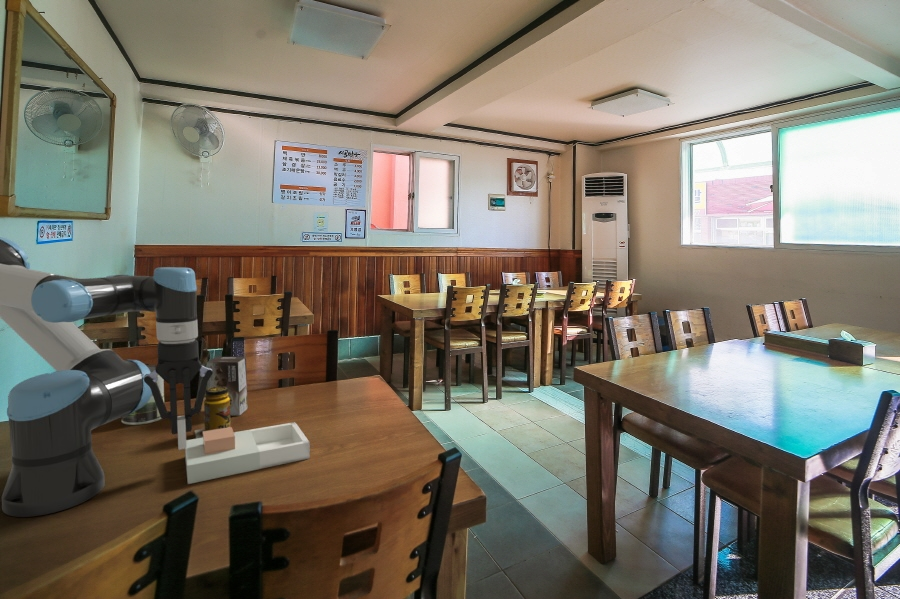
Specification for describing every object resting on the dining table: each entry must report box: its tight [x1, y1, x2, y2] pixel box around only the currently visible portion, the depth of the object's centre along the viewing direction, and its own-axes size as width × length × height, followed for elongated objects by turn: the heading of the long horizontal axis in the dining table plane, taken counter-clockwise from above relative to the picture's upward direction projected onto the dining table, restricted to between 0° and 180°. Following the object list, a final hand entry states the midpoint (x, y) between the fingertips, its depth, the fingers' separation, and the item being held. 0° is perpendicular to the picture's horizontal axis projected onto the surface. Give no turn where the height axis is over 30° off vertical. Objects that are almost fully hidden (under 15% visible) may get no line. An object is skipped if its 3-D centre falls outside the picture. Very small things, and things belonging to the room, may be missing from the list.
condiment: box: [194, 386, 231, 439], centre depth 120 cm, size 7×8×12 cm
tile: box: [203, 426, 235, 454], centre depth 104 cm, size 6×6×3 cm
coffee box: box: [206, 356, 248, 416], centre depth 135 cm, size 9×6×16 cm
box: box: [249, 421, 311, 470], centre depth 111 cm, size 11×14×4 cm
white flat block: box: [184, 429, 261, 485], centre depth 104 cm, size 14×14×4 cm
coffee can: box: [121, 364, 165, 426], centre depth 128 cm, size 10×10×14 cm
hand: (182, 446), depth 100 cm, fingers closed
